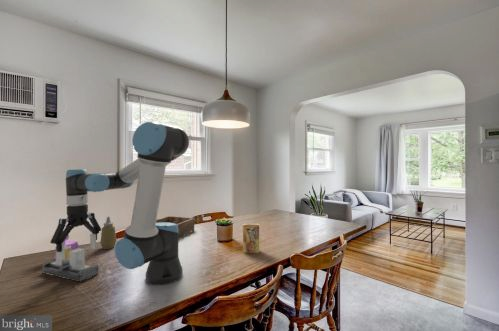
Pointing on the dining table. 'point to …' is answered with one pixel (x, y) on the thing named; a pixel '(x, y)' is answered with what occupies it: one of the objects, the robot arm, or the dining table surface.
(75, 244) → the toy chair
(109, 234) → the squeeze bottle
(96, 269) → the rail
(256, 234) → the candy box
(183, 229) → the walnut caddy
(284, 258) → the dining table surface
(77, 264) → the gold-topped white block
